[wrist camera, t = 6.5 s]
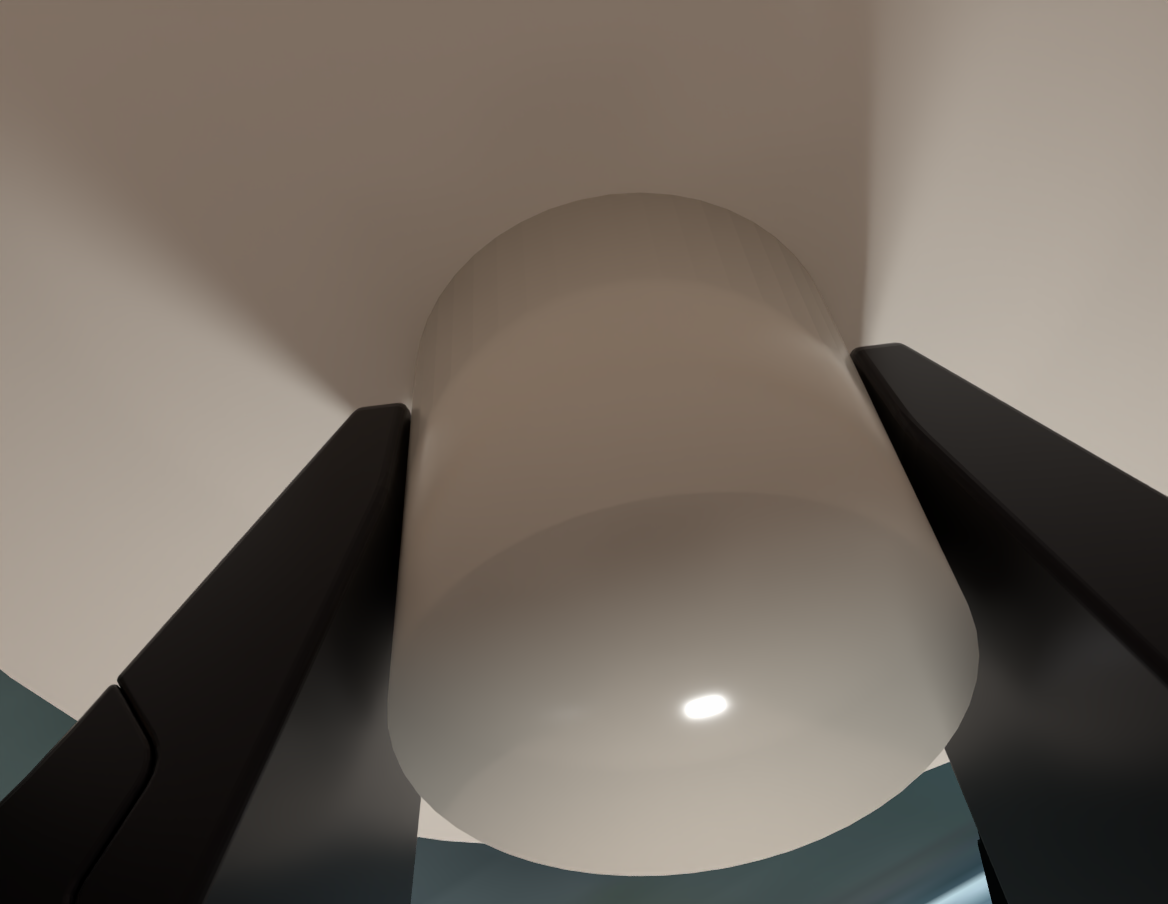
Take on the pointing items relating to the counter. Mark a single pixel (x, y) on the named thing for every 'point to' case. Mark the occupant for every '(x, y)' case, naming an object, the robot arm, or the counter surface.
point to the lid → (572, 362)
